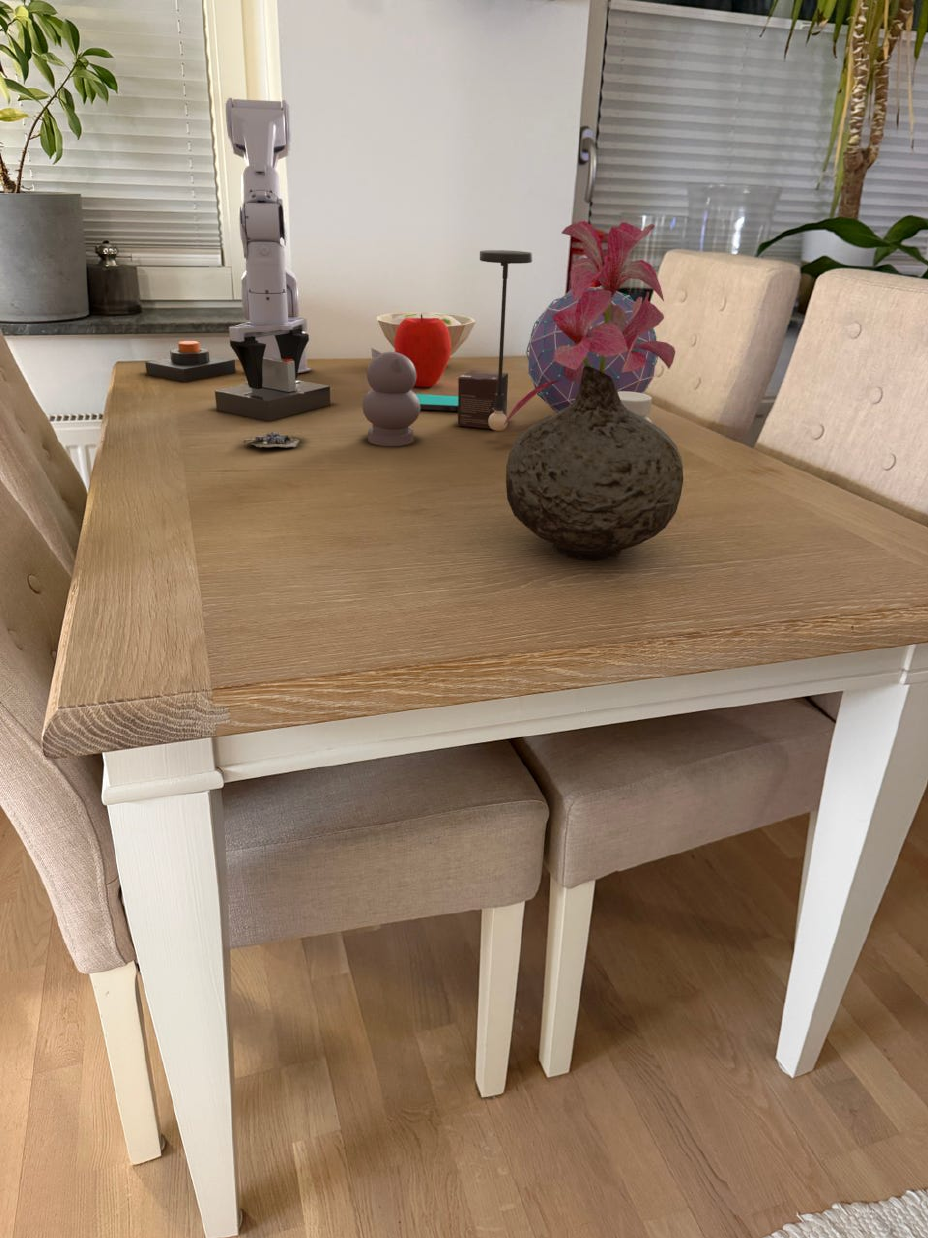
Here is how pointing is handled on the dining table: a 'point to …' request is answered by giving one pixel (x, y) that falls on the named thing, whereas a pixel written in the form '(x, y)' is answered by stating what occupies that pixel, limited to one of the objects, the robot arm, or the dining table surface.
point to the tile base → (272, 400)
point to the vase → (598, 421)
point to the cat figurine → (391, 399)
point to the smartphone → (438, 402)
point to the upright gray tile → (278, 374)
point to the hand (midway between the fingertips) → (273, 384)
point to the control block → (190, 366)
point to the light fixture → (502, 324)
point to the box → (479, 397)
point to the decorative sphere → (551, 338)
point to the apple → (424, 347)
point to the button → (188, 346)
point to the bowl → (454, 323)
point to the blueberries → (272, 441)
